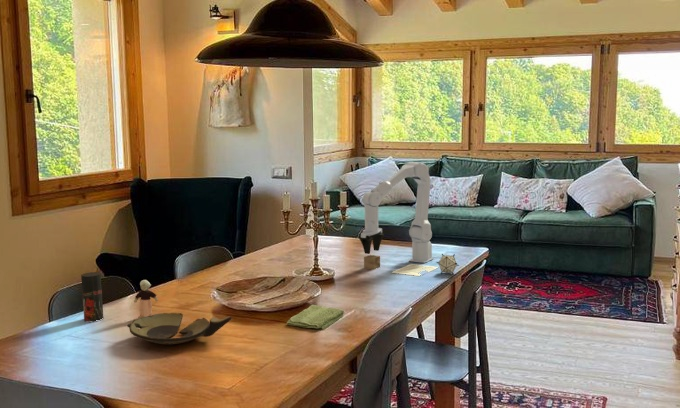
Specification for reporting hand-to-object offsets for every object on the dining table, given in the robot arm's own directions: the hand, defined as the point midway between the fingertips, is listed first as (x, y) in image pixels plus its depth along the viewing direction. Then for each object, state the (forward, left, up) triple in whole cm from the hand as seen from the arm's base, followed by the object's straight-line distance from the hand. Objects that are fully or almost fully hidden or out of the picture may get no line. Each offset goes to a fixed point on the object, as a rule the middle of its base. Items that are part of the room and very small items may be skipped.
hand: (371, 252), depth 283 cm
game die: (-6, +32, -7) cm, 34 cm away
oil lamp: (+109, -2, -7) cm, 109 cm away
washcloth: (+72, +22, -8) cm, 76 cm away
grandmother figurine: (+98, -28, -7) cm, 102 cm away
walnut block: (0, 0, -7) cm, 7 cm away
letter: (-5, +18, -7) cm, 20 cm away
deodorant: (+108, -42, -7) cm, 116 cm away
